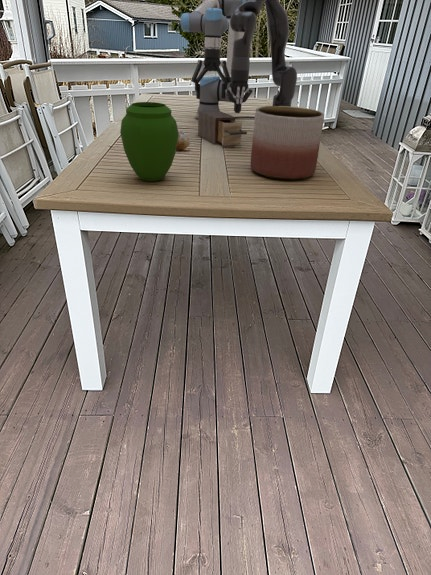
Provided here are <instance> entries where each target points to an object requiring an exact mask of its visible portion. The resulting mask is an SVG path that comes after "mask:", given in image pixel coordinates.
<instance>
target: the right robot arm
mask: <svg viewBox="0 0 431 575" xmlns="http://www.w3.org/2000/svg"><path fill="white" fill-rule="evenodd" d="M264 5H265V12H266V13H265V14H266V21H267V22H266V23H267V29H268V30H267V32H268V38H269V45H270V57H271V77H272V82H273V84H274V85H275V86H277V87H279V90H278V92H277V94H274V95H273V97H272V105H271V106H290V107H292V102H293V99H294V96H295V93H296V88H297V81H298V73H297V69H296V68H295V67H294V66H290V65H287V64H286V55H285V54H286V47H287V44H288V40H289V37H290V24H289V17H288V16H289V15H288V13H287V11H286V10H285V8H284V6H283V5H282V4H281V2H280V0H246V1H245V2H244V3H242V4H241V5H240V6H239V7H238V8H237V9H236V10H235V11H234V12H233V14H232V16H231V19H230V26H231V29H232V30H233V31H235V32H244V35H243V37H242V38H241V39H237V40H235V41H234V43H233V57H232V65H231V83H230V87H229V88H228V89H225V93H226V94H227V96H228V98H229V100H230V101H231V102H230V103H232V102H233V103H232V104H233V111H234V113H235V114H240V113H241V112H242V105H243V103H246V102H247V100H248V99H249V98H250V97H251V95H252V93H253V89H251V88H250V87H249V79H250V78H249V77H250V76H249V75H250V62H251V61H250V56H251V44H252V41H253V38H254V34H255V31H256V29H257V24H258V18H257V16H259V14H260V12H261V11H262V9H263V7H264ZM231 91H232V92H233V96H232V94H231Z"/></svg>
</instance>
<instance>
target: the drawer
mask: <svg viewBox="0 0 431 575" xmlns="http://www.w3.org/2000/svg"><path fill="white" fill-rule="evenodd" d="M247 134H248V131H246V130H243V122H241V121H240V122H239V121H238V122H237V121H236V120H235V121H233V120H218V121H217V141H219V142H221V143H222V144H221V146H223V147H228V146H241V143H242V135H247Z"/></svg>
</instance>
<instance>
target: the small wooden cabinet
mask: <svg viewBox="0 0 431 575" xmlns="http://www.w3.org/2000/svg"><path fill="white" fill-rule="evenodd" d="M219 110H220V109H219ZM219 110H199V111H198V110H197V111H198V119H197V136H199V137H201V138H203V139H204V140H206V141H208V142H209V143H211V144H213V145H222V143H221V142H219V141H217V121H218V120H233V121H235V122H236V118H235V117H236V116H233V115H231V114H228V113H226V112H223V111H221V110H220V111H219Z"/></svg>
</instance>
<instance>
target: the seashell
mask: <svg viewBox="0 0 431 575" xmlns="http://www.w3.org/2000/svg"><path fill="white" fill-rule="evenodd" d="M178 133H179V134H178V141H177V148H176V151H177V150H178V151H181V150H185V149H187V148H188V147H189V146H190V145H191V140H190V138H189V136H187V135H186V133H185V132H184V131H183V130H180V131H178Z"/></svg>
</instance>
